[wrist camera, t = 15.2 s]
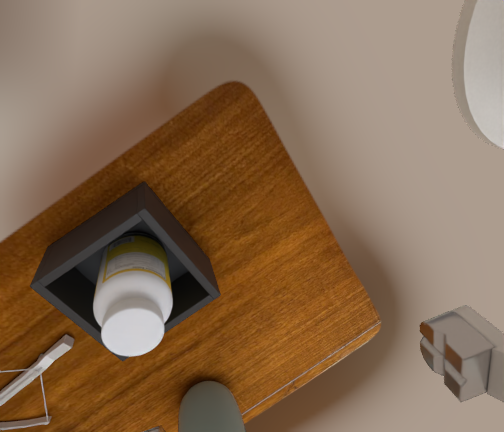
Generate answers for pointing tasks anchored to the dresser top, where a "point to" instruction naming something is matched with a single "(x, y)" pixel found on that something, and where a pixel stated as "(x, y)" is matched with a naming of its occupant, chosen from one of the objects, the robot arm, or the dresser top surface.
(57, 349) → the crossbow
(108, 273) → the pill bottle
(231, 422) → the cup
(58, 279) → the bin
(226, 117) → the dresser top surface
